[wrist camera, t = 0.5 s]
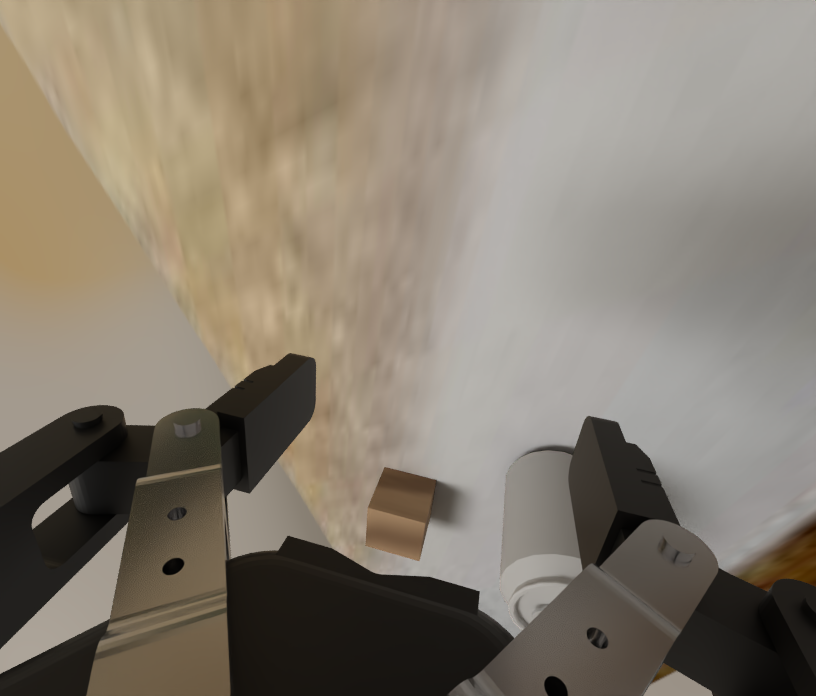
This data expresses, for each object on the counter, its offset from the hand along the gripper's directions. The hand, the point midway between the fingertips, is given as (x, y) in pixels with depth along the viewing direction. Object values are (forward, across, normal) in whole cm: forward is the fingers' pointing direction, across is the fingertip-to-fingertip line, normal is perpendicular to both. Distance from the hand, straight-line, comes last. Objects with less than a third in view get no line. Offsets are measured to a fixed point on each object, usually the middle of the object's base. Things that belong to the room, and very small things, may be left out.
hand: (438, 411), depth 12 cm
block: (+20, +3, +23) cm, 31 cm away
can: (+20, -9, +17) cm, 27 cm away
